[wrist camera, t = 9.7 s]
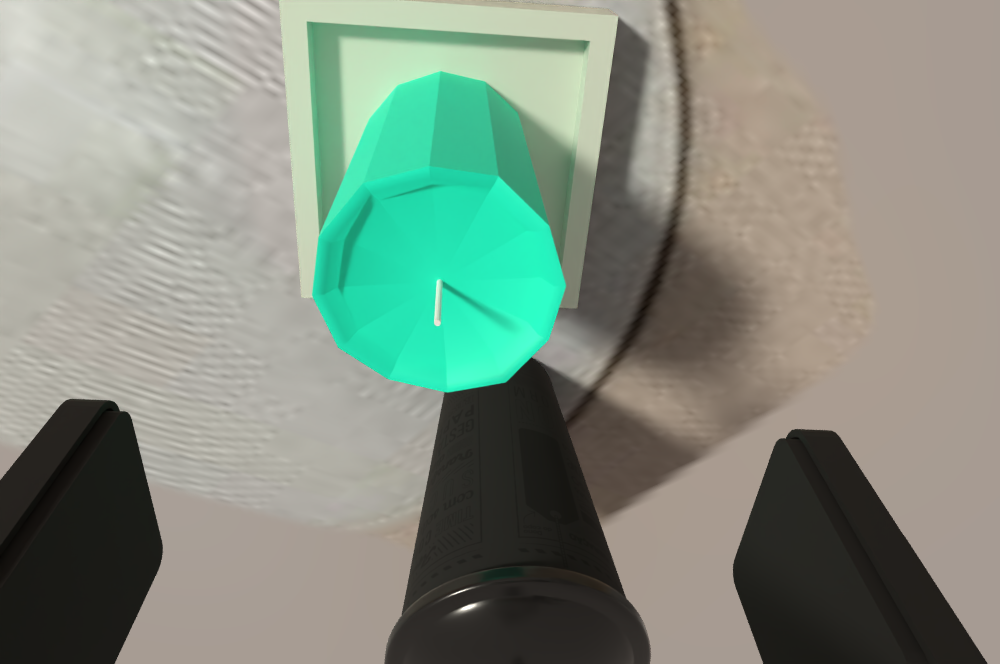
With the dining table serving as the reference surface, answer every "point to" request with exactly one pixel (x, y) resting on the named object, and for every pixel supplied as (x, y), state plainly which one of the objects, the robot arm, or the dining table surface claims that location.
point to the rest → (461, 51)
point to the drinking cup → (512, 543)
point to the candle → (440, 241)
